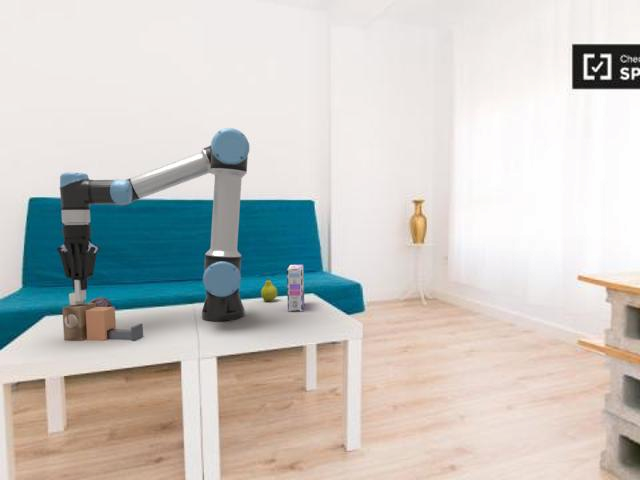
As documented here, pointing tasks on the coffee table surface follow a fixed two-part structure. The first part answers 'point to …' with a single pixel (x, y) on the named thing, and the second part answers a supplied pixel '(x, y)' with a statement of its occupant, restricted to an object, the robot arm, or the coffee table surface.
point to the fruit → (268, 291)
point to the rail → (126, 333)
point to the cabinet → (76, 321)
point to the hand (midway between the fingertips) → (80, 300)
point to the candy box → (295, 287)
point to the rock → (101, 302)
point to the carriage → (99, 322)
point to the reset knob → (72, 299)
